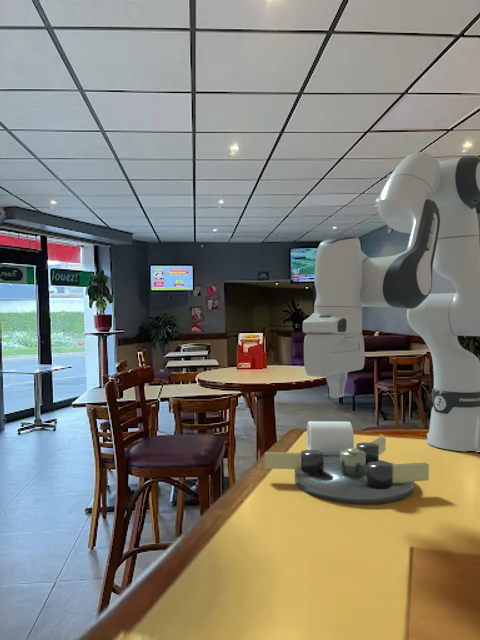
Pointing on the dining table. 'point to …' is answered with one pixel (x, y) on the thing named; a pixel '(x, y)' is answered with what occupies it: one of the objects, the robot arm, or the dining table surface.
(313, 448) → the mug
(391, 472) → the knob
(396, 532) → the dining table surface
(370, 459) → the knob
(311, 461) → the knob
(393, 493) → the tribrach plate
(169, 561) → the dining table surface
